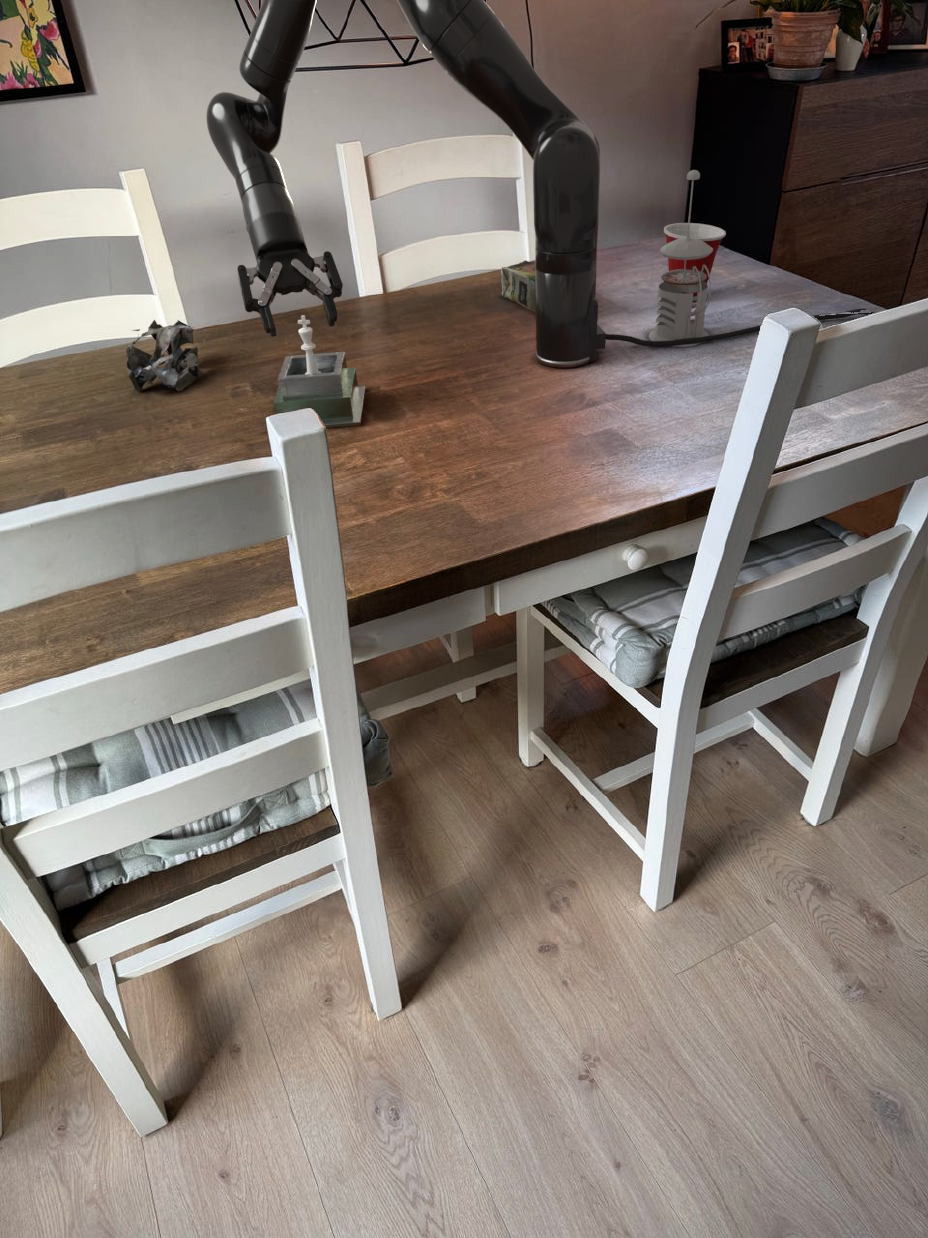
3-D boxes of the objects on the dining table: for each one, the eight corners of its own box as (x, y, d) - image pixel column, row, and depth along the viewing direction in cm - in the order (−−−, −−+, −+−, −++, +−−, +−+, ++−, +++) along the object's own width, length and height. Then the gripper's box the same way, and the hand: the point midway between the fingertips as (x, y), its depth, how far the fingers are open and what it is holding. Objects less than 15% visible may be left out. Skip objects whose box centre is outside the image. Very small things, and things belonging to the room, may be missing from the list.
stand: (365, 389, 133) (359, 345, 129) (360, 425, 123) (353, 378, 118) (282, 395, 133) (273, 351, 129) (270, 432, 123) (260, 385, 119)
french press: (689, 322, 147) (705, 160, 132) (726, 343, 139) (748, 173, 123) (638, 331, 145) (648, 168, 130) (672, 354, 136) (687, 182, 121)
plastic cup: (724, 305, 153) (733, 233, 146) (663, 308, 154) (669, 237, 146) (711, 286, 162) (719, 218, 154) (653, 289, 162) (658, 222, 155)
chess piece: (325, 391, 123) (313, 321, 117) (293, 390, 124) (280, 321, 118) (336, 377, 127) (325, 309, 121) (305, 377, 128) (292, 309, 122)
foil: (99, 369, 138) (148, 295, 140) (147, 409, 147) (193, 339, 149) (140, 381, 131) (191, 303, 134) (188, 422, 140) (235, 348, 143)
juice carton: (496, 294, 165) (495, 261, 162) (540, 285, 169) (540, 253, 165) (550, 324, 151) (551, 289, 147) (597, 314, 154) (599, 279, 150)
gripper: (222, 217, 119) (253, 324, 117) (322, 202, 122) (353, 306, 120) (226, 248, 126) (255, 350, 124) (320, 234, 129) (349, 332, 128)
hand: (303, 328), depth 122 cm, fingers open, 8 cm apart
